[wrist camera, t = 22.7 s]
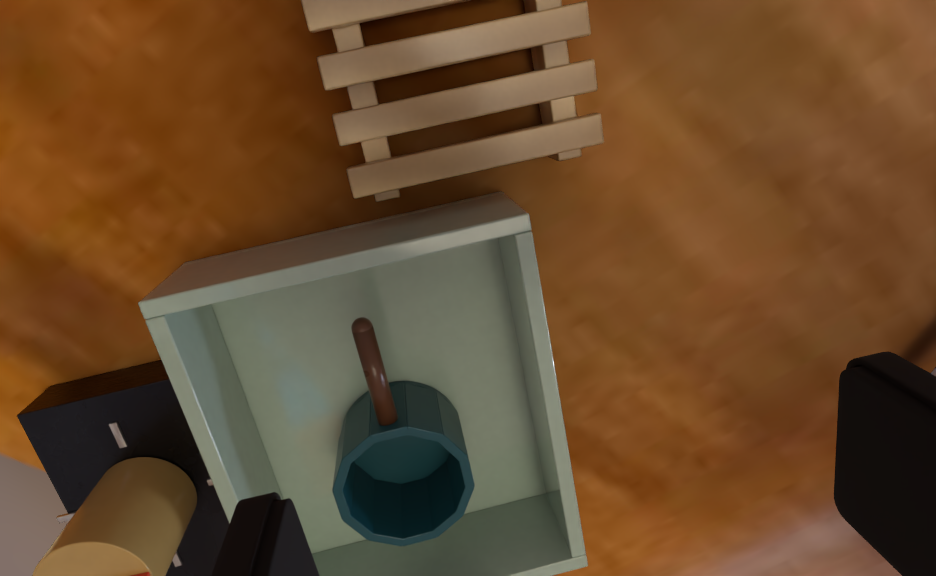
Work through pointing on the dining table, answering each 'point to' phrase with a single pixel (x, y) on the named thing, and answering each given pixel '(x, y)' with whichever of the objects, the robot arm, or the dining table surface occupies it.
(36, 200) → the dining table surface
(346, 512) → the pan
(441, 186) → the dining table surface
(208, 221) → the dining table surface
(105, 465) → the black dial base
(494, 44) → the rack
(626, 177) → the dining table surface
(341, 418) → the pale green open box
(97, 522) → the tap knob
